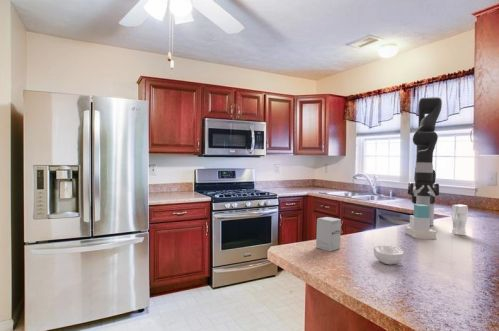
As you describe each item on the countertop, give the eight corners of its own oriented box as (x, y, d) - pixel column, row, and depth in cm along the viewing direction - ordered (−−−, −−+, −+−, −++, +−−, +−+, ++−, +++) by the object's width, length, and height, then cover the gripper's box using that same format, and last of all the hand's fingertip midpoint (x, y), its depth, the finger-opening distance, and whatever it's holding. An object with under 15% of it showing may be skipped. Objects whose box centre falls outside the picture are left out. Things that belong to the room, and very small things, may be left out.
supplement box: (330, 252, 120) (331, 221, 120) (315, 247, 126) (316, 218, 125) (340, 248, 125) (341, 219, 124) (326, 244, 130) (326, 216, 130)
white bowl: (404, 260, 111) (404, 242, 111) (402, 270, 101) (402, 251, 101) (375, 255, 116) (375, 238, 116) (370, 264, 106) (371, 246, 106)
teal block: (413, 215, 152) (413, 204, 152) (423, 216, 152) (424, 204, 151) (418, 217, 147) (418, 205, 147) (428, 218, 147) (429, 206, 147)
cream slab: (405, 234, 155) (405, 226, 155) (424, 234, 154) (424, 226, 154) (415, 239, 145) (415, 231, 145) (436, 239, 144) (436, 231, 144)
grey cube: (409, 226, 154) (410, 215, 154) (424, 227, 153) (424, 215, 152) (414, 229, 147) (414, 217, 147) (429, 230, 146) (429, 218, 146)
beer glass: (448, 232, 157) (448, 204, 157) (456, 231, 160) (456, 204, 160) (462, 236, 151) (463, 206, 150) (470, 234, 154) (471, 206, 153)
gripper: (433, 171, 152) (432, 203, 152) (405, 171, 152) (404, 202, 152) (443, 172, 144) (442, 205, 145) (413, 171, 145) (412, 204, 145)
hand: (422, 203), depth 149 cm, fingers open, 8 cm apart
